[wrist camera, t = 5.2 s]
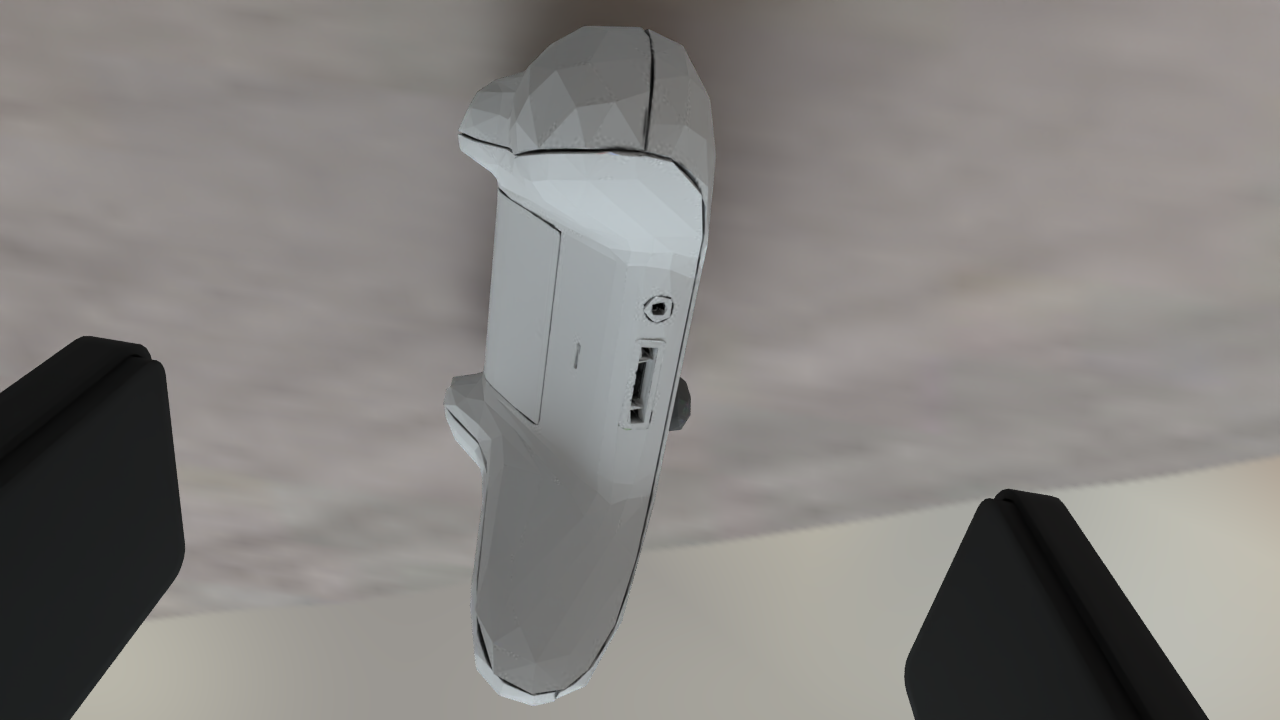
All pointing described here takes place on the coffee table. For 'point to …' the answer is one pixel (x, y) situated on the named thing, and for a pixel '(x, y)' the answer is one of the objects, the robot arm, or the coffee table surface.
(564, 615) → the gaming controller
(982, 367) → the coffee table surface
